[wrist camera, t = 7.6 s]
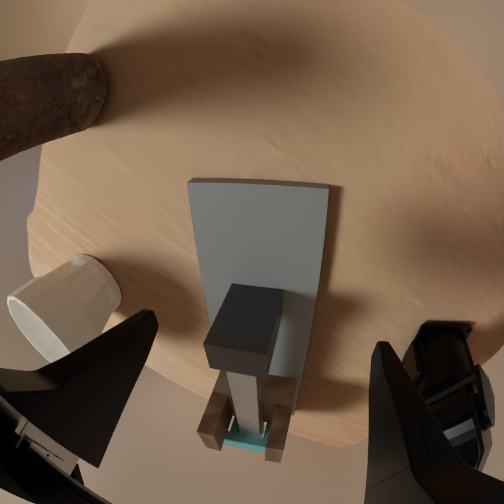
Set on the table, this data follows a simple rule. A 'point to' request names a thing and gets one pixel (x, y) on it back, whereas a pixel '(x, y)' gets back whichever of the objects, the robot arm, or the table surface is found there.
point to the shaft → (246, 348)
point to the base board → (263, 252)
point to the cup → (65, 306)
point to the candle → (47, 98)
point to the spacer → (246, 438)
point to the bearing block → (275, 411)
